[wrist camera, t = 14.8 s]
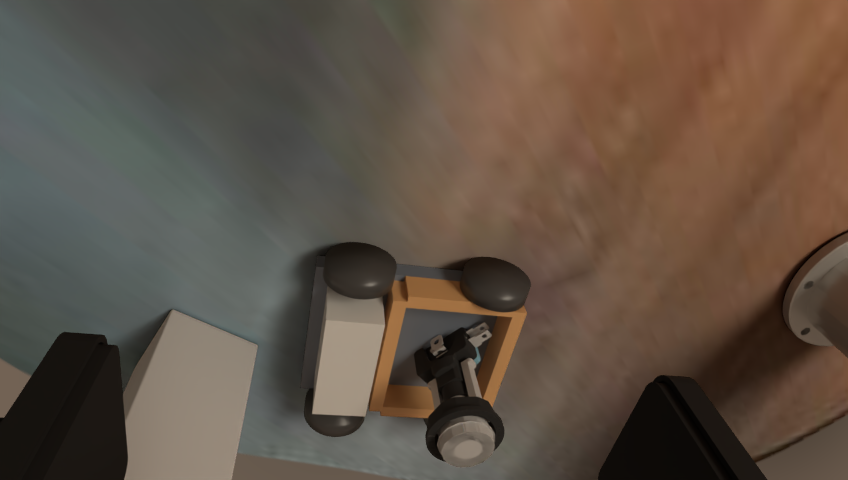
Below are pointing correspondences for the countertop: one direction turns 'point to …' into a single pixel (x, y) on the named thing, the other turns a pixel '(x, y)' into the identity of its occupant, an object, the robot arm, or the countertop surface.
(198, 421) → the milk carton
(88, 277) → the countertop surface
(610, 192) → the countertop surface
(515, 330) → the chassis
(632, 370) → the countertop surface
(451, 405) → the push button
